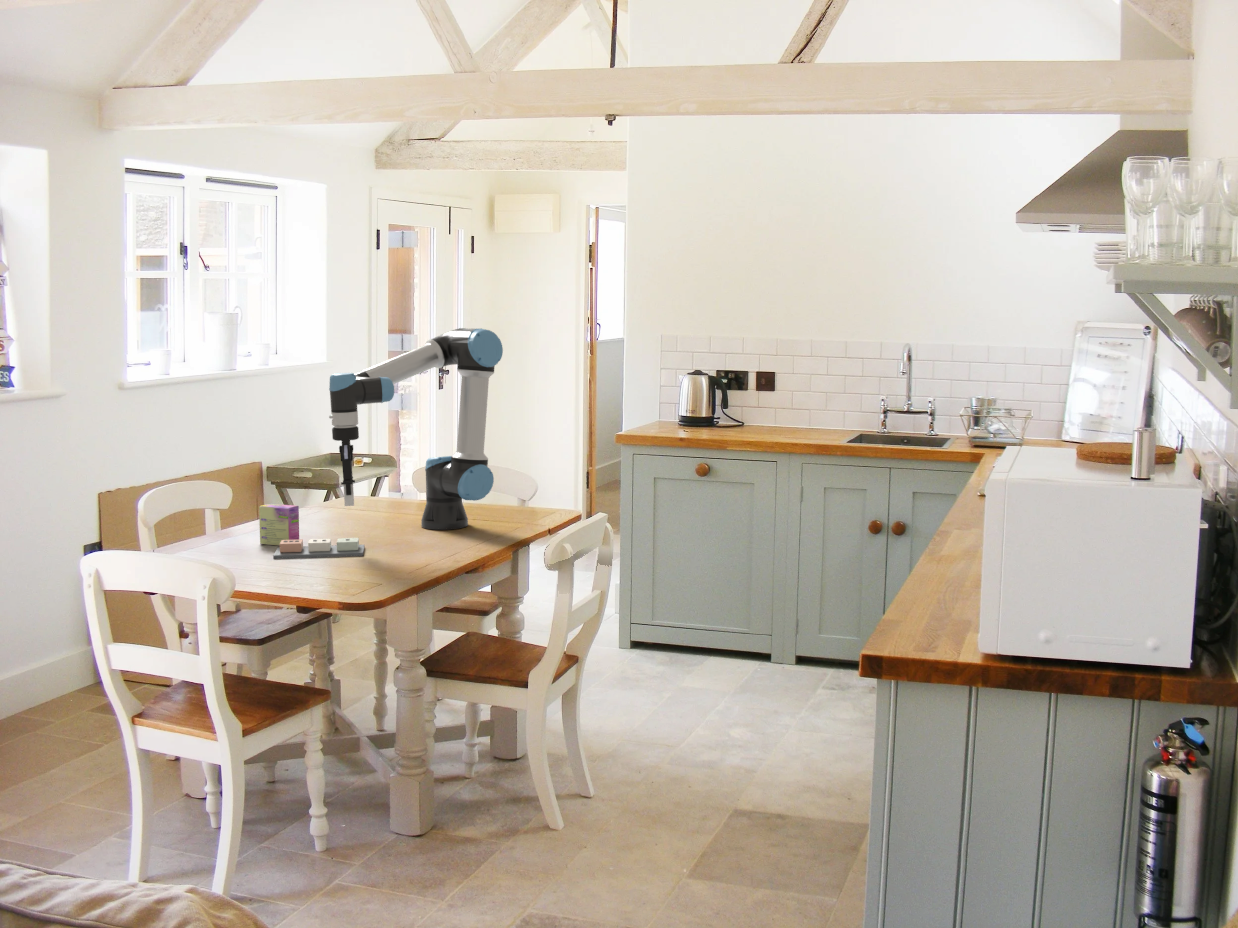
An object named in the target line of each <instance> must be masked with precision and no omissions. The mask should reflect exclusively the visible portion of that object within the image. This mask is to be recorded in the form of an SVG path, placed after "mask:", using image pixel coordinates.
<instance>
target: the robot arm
mask: <svg viewBox="0 0 1238 928" xmlns="http://www.w3.org/2000/svg"><path fill="white" fill-rule="evenodd" d="M503 351H504V348H503V343H502V341H501V339H500V337H499V336H498V335H497V334H496V333H495V332H493V331H492V330H489V329H485V328H466V327H465V328H463V327H462V328H461V327H460V328H455V329H451V330H450V331H447V332H445V333H442V334H440V335H438V336H435V337H434V338H431V339H427V341H426V342H425V345H422V346H420V347H416V348H414V349H412V350H410V351H408V352H405V353H402V354H400V355H398V356H394V357H392V358H390V359H388V360H385V361H382V362H381V363H380V362H379V363H377V364H376V365H373V366H371V367H368V368H366V369H363V370H361V371H357V372H356V373H353V372H337V373H333V374H331V375H329V387H328V388H329V389H328V390H329V396H330V398H329V399H330V412H331V415H329V416H328V418H329V419H331V425H332V428H331V432H332V433H331V434H332V440H333V441H335V442H337V441H338V442H339V441H341V445H339V447H338V449H339V451H338V452H339V454H340V462H342V464H341V467H342V477H343V480H342V482H341V483H340V484H341V486H342V485H343V499H344V507H353V506H355V498H354V496H355V495H354V483H356V479H355V480H354V477H353V460H354V445H353V444H351V441H355V440H358V439H359V438H360V437H359V436H360V435H359V431H360V430H359V427H358V426H357V425H358V424H359V413H358V412H359V411H358V405H364V404H365V405H366V404H367V405H369V404H378V403H379V404H380V403H381V404H383V403H387V402H390V401H392V400H393V398H394V397H395V384H397V383H400V382H402V381H404V380H407V379H409V378H411V377H413V376H416V375H419V374H421V373H424V372H426V371H428V370H431V369H433V368H436V369H441V368H444V367H448V366H452V365H453V366H454V365H457V372H458V373H459V374H460V375H461V384H460V396H459V399H460V400H459V409H458V410H459V412H458V426H457V437H456V438H457V441H456V451H455V452H454V453H453V454H452V455H447V456H446V455H445V456H435V457H428V458H427V459H426V462H425V494H426V497H425V498H426V501H425V502H426V503H425V504H426V505H425V506H424V510H423V513H422V517H421V525H420V526H421V528H423V529H427V530H437V531H438V530H441V531H442V530H459V529H464V528H466V527H468V525H469V517H468V516H467V511H466V510H465V507H464V503H463V500H465V501H479V500H483V499H484V498H486V497H487V495H489V494H490V492H491V490H492V488H493V485H494V479H495V478H494V473H493V472H492V470H491V468H490V467H488V466H489V458H488V457H487V455H486V454H485V439H486V424H487V410H488V409H487V408H488V400H489V399H488V397H489V381H490V378H491V376H493V375H494V374H495V366H497V365H498V363H499V362H500V361H501V360H502V358H503Z"/></svg>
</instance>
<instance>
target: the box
mask: <svg viewBox="0 0 1238 928" xmlns="http://www.w3.org/2000/svg"><path fill="white" fill-rule="evenodd" d="M258 509H259V510H258V514H259V517H258V518H259V519H258V522H259V543H260V545H269V546H271V545H272V546H278V547H280V542H281V541H282V540H297V539H300V520H299V519H300V513H299V512H300V510H299V509H300V508H299V505H293V504H292V505H291V504H279V503H265V504H263V505H262V504H261V505H259V507H258Z"/></svg>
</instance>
